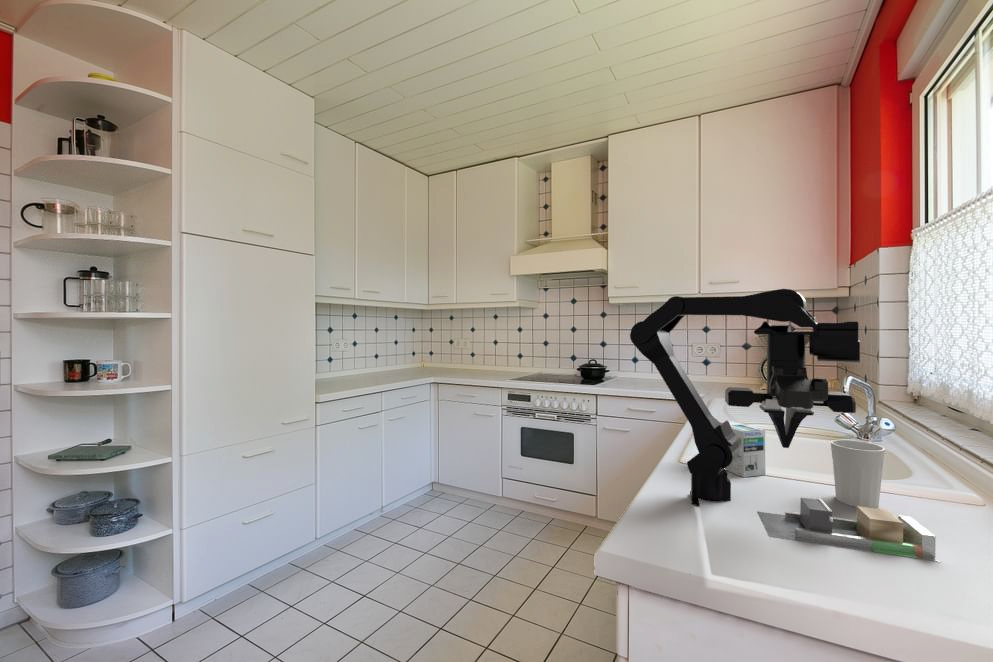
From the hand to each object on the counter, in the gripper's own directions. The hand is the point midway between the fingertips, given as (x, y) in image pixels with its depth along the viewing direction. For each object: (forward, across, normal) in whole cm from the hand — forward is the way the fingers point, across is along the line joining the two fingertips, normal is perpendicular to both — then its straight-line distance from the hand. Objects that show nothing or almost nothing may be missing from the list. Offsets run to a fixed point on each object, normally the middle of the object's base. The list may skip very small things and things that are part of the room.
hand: (785, 447), depth 78 cm
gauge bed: (+13, +6, -6) cm, 15 cm away
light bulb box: (+13, -4, +28) cm, 31 cm away
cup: (+13, +14, +11) cm, 22 cm away
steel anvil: (+12, +16, -6) cm, 21 cm away
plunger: (+12, +3, -6) cm, 13 cm away
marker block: (+12, +11, -6) cm, 17 cm away
